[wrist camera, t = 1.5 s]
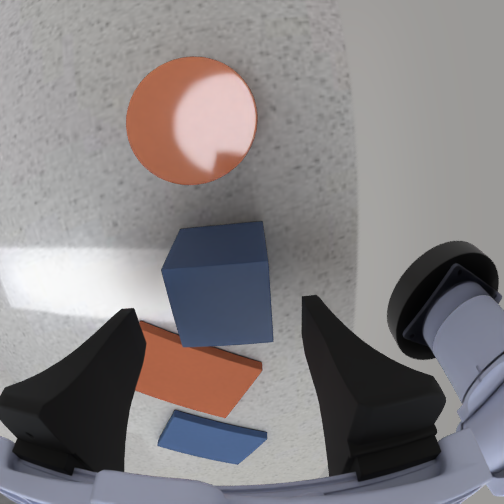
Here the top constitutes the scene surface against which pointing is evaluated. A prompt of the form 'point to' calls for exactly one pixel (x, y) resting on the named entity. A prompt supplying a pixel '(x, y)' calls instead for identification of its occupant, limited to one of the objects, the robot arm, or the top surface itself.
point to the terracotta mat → (193, 373)
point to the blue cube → (220, 285)
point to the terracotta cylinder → (191, 120)
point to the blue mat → (209, 438)
